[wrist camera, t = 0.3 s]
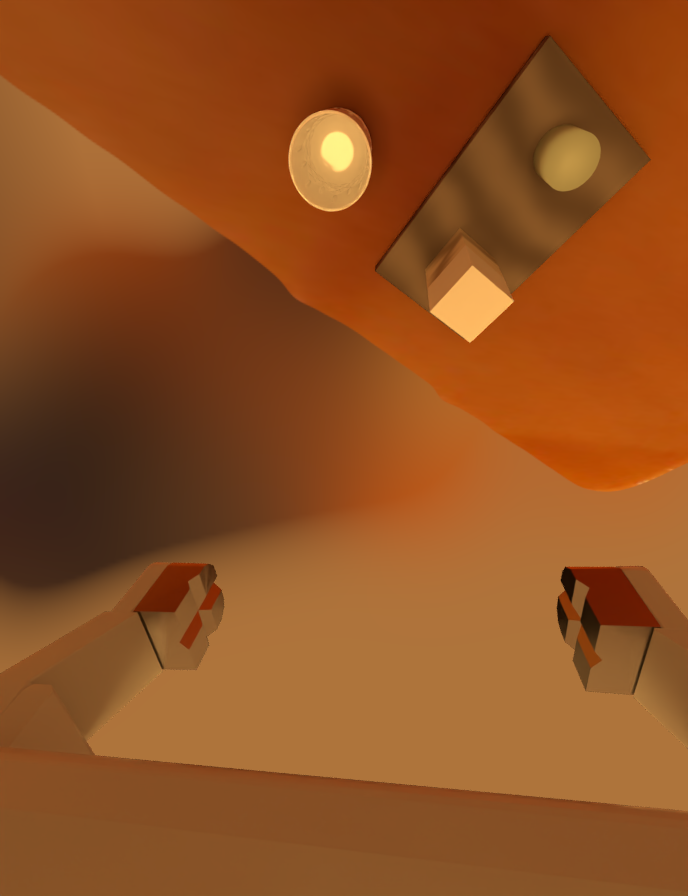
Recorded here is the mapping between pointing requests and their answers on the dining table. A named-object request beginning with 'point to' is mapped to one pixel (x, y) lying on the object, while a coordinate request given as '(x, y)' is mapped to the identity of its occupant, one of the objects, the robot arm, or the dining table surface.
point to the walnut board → (516, 179)
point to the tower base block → (452, 250)
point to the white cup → (331, 158)
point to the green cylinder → (566, 157)
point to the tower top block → (468, 295)
